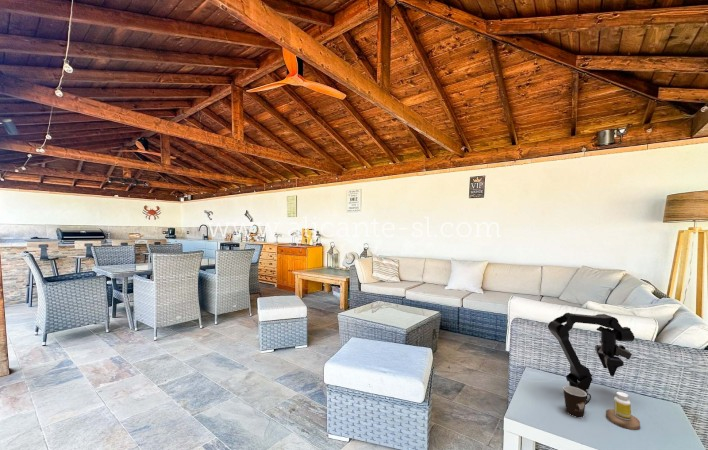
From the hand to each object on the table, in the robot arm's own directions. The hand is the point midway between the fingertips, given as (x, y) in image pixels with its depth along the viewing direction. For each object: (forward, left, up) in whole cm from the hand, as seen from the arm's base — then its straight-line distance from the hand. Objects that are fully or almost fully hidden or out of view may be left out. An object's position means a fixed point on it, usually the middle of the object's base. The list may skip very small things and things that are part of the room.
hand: (608, 372), depth 146 cm
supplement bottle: (-1, -20, -11) cm, 23 cm away
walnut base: (-1, -20, -13) cm, 24 cm away
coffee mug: (-17, -22, -13) cm, 31 cm away
